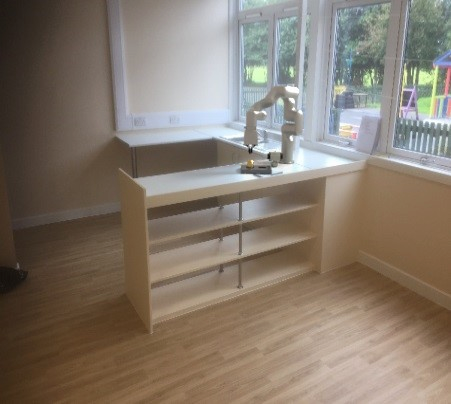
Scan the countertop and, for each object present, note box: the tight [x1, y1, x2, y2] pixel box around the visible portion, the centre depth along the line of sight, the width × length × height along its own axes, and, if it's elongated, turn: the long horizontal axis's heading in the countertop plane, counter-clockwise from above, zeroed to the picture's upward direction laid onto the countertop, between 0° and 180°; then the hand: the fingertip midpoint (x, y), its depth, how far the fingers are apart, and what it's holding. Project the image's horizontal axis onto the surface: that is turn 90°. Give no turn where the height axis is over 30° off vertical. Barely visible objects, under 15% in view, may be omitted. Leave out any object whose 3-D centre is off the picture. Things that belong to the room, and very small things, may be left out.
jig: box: [240, 164, 273, 175], centre depth 310 cm, size 16×22×3 cm
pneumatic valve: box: [266, 150, 283, 168], centre depth 326 cm, size 6×12×12 cm, turn 92°
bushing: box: [246, 159, 254, 168], centre depth 310 cm, size 4×4×8 cm
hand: (250, 153), depth 307 cm, fingers closed
